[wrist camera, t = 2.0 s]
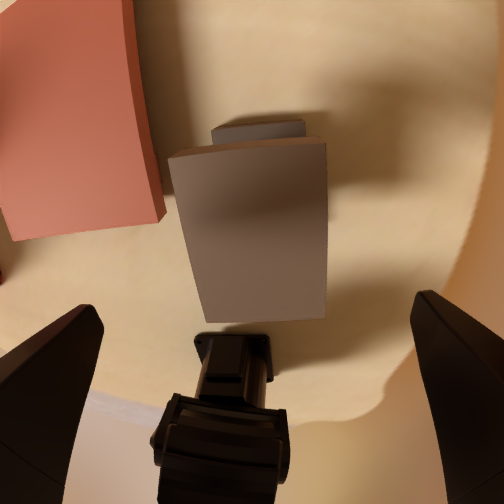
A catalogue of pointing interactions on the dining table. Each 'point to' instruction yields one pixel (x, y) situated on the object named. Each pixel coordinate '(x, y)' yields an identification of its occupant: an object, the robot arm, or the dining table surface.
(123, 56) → the reddish-brown flat board
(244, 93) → the dining table surface
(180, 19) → the dining table surface
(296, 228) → the pedestal
